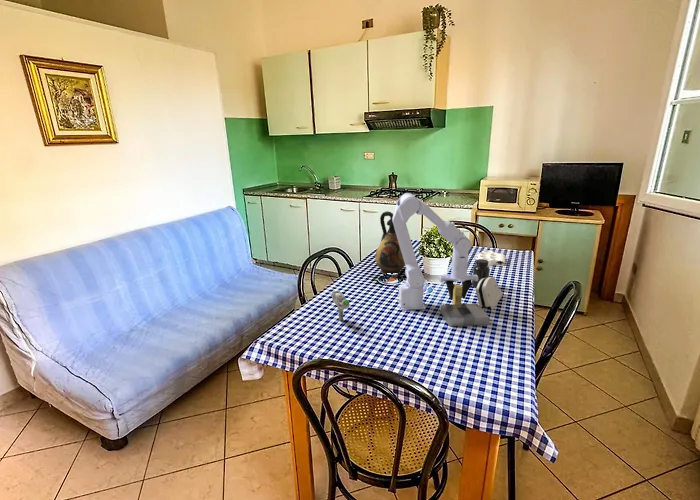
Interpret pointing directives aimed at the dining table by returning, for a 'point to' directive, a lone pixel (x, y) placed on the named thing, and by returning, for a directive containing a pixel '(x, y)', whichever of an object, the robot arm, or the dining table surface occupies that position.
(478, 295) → the white angular device
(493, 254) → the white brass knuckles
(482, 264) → the supplement bottle
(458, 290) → the wood grain block
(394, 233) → the ceramic jug
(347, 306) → the mechanical component
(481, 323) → the grey slotted plate
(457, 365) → the dining table surface
